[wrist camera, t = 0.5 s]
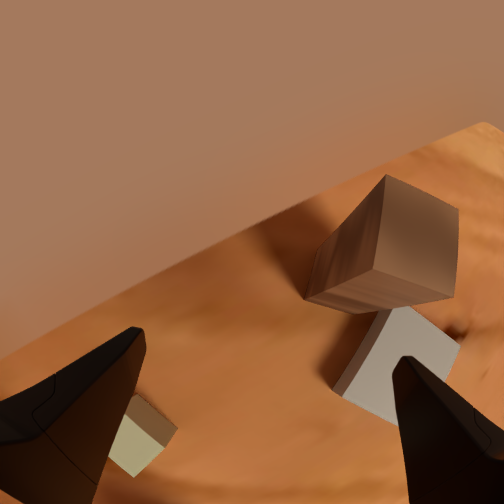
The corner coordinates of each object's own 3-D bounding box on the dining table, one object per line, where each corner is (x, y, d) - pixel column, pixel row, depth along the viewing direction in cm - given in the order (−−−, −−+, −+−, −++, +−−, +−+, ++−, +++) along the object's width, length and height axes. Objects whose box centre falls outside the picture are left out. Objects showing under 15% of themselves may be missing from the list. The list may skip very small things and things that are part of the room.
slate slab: (399, 425, 20) (414, 433, 17) (330, 389, 21) (341, 396, 18) (442, 345, 22) (460, 346, 19) (381, 301, 23) (398, 298, 20)
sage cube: (178, 428, 20) (164, 448, 15) (150, 456, 19) (133, 477, 14) (137, 393, 20) (116, 406, 16) (112, 423, 19) (89, 438, 15)
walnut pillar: (352, 314, 22) (453, 297, 10) (303, 299, 23) (372, 268, 10) (363, 264, 24) (458, 209, 11) (317, 249, 24) (385, 174, 11)
